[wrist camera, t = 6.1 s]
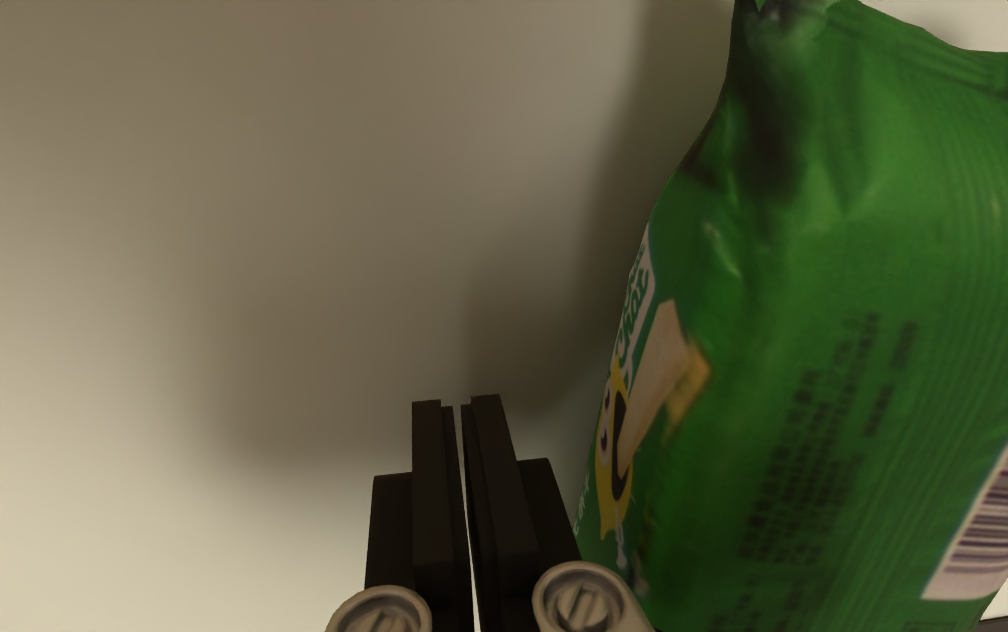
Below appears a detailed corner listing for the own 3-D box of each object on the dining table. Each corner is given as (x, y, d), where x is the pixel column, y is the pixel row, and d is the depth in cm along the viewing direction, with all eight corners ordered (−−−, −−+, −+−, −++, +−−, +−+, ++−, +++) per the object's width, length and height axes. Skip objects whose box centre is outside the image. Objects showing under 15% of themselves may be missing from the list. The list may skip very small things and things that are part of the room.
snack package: (1023, 23, 11) (1479, 8, 6) (765, 639, 17) (898, 867, 12) (651, -45, 10) (872, -125, 5) (515, 645, 16) (558, 901, 11)
